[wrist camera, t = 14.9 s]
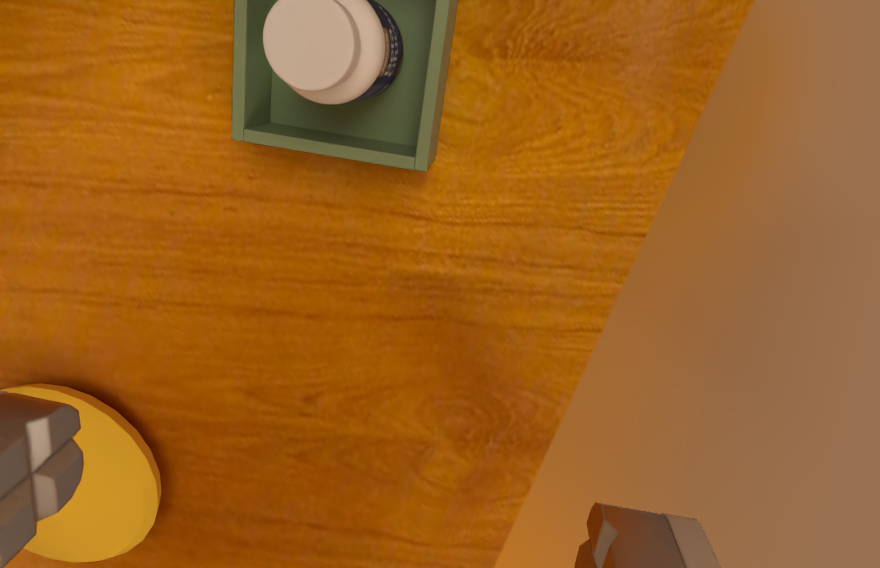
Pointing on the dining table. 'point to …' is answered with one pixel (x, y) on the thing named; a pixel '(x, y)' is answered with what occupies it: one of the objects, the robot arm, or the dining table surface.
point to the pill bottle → (333, 48)
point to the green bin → (358, 122)
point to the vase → (99, 485)
